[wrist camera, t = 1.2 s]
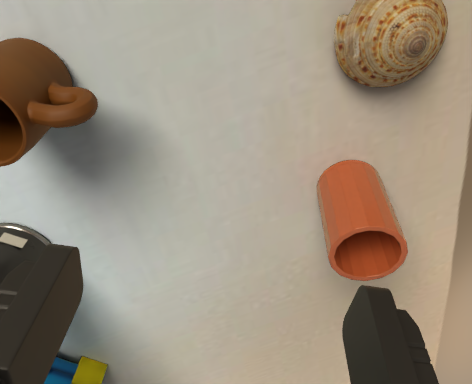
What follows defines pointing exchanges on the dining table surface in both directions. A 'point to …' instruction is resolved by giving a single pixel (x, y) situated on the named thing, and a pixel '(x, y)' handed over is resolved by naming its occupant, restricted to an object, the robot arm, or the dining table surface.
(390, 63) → the seashell
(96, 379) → the decorative book
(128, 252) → the dining table surface
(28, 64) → the mug
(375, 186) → the cup
